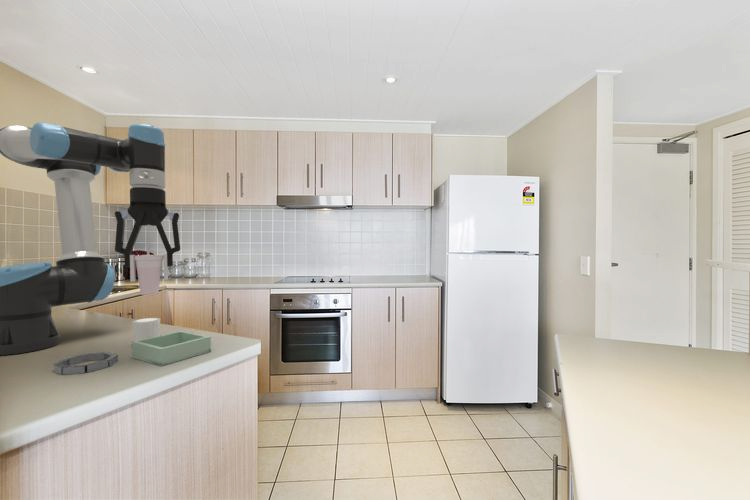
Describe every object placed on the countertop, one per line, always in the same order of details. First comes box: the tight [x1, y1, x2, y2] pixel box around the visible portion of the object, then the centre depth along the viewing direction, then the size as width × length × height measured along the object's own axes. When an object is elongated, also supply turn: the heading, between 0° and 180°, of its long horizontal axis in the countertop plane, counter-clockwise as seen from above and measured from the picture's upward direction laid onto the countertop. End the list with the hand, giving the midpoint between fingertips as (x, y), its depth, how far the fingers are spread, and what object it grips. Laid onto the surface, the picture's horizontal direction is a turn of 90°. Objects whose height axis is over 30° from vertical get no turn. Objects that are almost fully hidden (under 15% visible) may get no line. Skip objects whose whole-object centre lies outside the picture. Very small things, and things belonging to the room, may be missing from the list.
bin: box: [131, 330, 212, 367], centre depth 91 cm, size 13×13×4 cm
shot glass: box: [132, 317, 161, 341], centre depth 101 cm, size 7×7×7 cm
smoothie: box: [134, 237, 164, 296], centre depth 88 cm, size 6×6×14 cm
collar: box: [53, 351, 118, 376], centre depth 83 cm, size 11×11×2 cm
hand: (149, 280), depth 88 cm, fingers closed on smoothie, 6 cm apart
